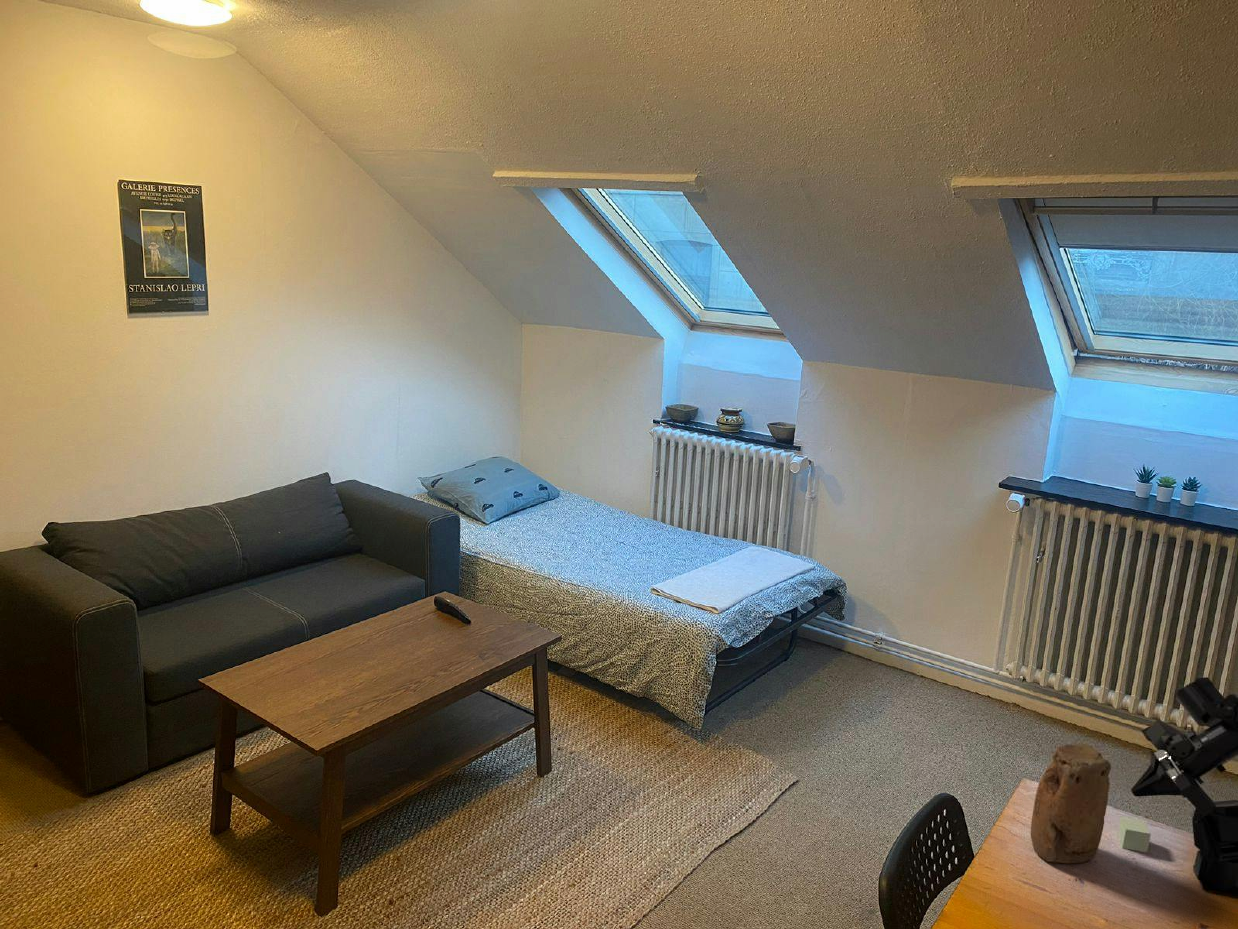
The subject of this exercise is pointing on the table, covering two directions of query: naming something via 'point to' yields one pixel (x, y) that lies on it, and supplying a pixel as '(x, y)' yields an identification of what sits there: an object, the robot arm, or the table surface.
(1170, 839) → the table surface
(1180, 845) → the table surface
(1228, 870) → the robot arm
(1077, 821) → the brown stone
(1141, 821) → the sage cube
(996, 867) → the table surface
